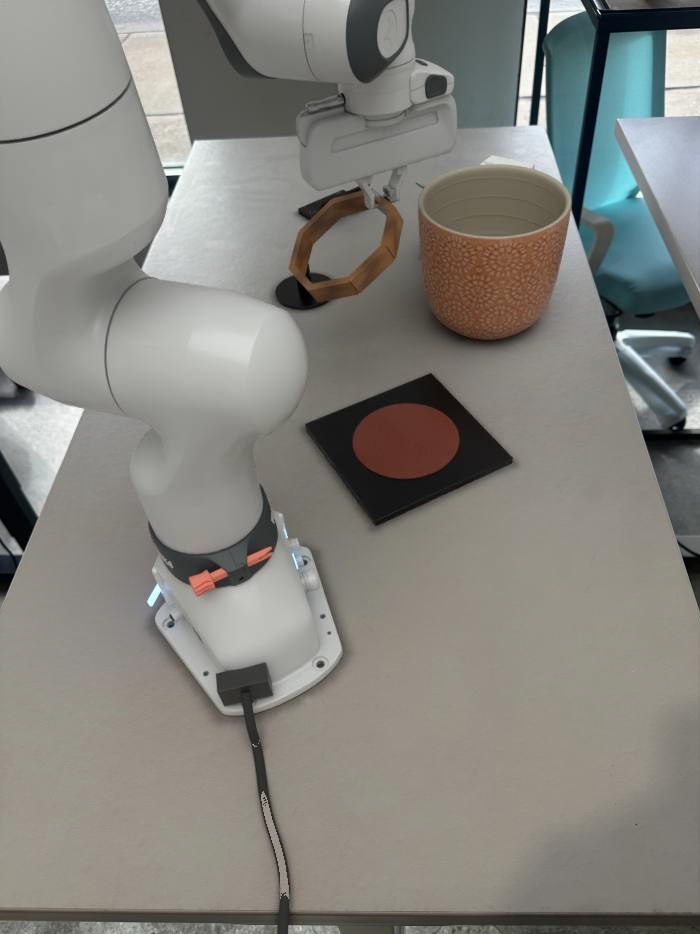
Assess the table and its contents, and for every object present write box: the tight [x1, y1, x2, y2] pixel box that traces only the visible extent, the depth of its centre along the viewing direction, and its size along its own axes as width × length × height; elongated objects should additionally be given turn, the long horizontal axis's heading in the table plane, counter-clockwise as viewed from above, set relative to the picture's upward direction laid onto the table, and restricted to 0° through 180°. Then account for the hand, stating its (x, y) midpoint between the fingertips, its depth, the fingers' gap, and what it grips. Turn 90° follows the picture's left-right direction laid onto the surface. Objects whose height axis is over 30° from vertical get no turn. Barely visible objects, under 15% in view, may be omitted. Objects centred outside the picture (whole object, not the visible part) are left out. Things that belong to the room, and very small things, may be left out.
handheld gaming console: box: [297, 184, 371, 221], centre depth 135 cm, size 12×7×10 cm
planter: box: [417, 164, 573, 341], centre depth 107 cm, size 21×21×19 cm
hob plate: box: [304, 372, 514, 526], centre depth 96 cm, size 20×20×1 cm
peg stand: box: [274, 263, 333, 310], centre depth 119 cm, size 10×10×5 cm
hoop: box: [288, 188, 405, 302], centre depth 94 cm, size 15×15×2 cm
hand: (382, 203), depth 93 cm, fingers closed on hoop, 1 cm apart
